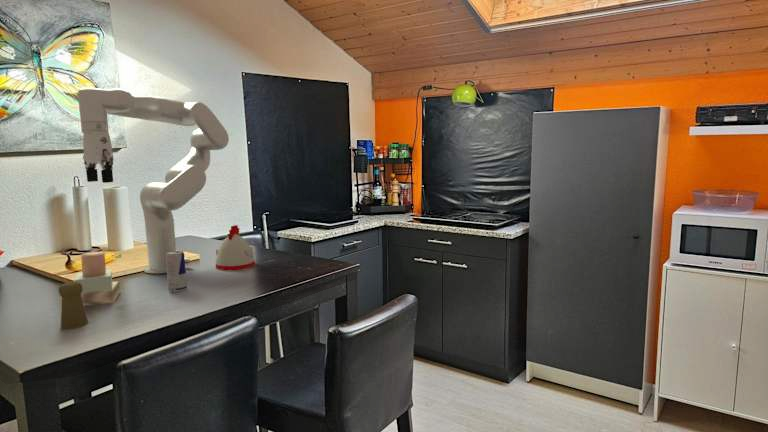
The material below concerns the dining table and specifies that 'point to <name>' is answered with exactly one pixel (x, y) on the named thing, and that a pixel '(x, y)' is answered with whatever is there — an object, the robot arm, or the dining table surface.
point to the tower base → (101, 296)
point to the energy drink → (176, 271)
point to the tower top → (95, 282)
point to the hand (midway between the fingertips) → (100, 181)
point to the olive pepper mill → (72, 306)
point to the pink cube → (93, 264)
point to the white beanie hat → (234, 252)
